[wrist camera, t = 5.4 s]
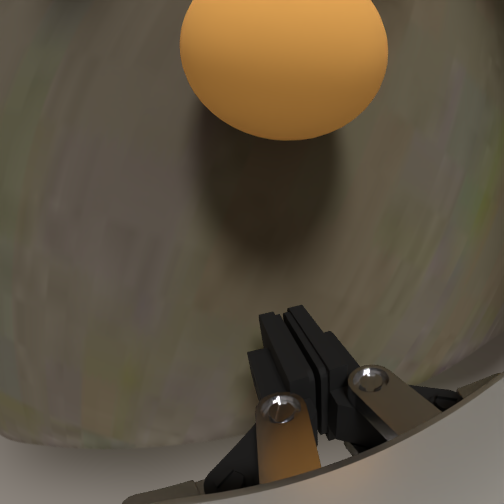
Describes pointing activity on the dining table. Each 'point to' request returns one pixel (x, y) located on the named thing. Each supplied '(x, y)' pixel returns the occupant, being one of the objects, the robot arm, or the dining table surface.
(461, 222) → the dining table surface
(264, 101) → the ball
